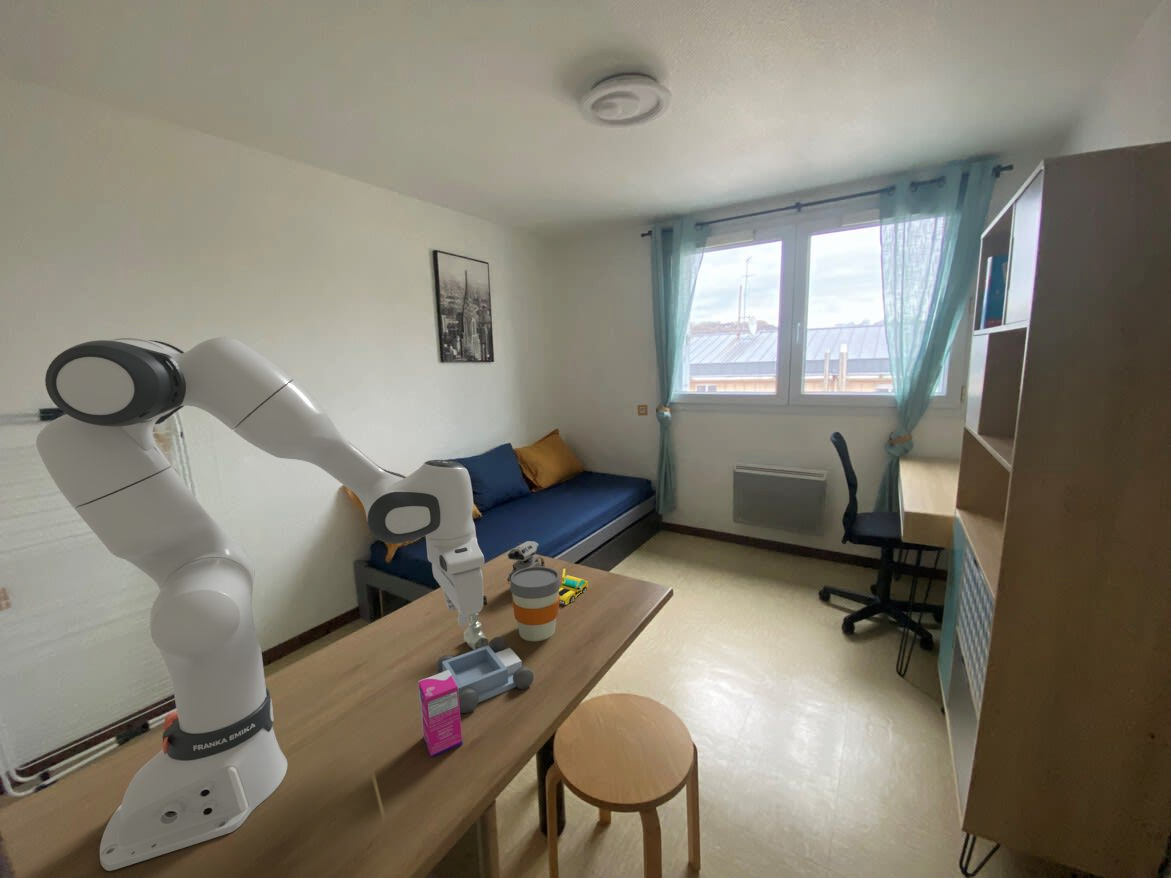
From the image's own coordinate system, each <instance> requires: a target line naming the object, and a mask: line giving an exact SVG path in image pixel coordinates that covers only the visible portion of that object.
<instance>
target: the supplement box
mask: <svg viewBox="0 0 1171 878" xmlns="http://www.w3.org/2000/svg"><path fill="white" fill-rule="evenodd" d="M417 685H418V686H417V687H418V697H419V707H420V709H419V710H420V717H421V726H422V728H421V729H422V737H423V739H424V743H425V744H426V747H427V749H428V752H429V755H430V758H434V757H436V756H438V755H441V754H443V753H445V752H447V751H449V750H452V749H454V748H456V747H458V746H462V745H463V744H464V743H463V732H462V731H463V730H462V719H461V711H460V706H459V694H458V686H457V684H456V682H455V680H454V678H453V677H452V675H451V673H450V671H449V670H446V671H444V672H441V673H437V674H434V675H432V676H429V677H426V678H422V679H420V680H418V681H417Z"/></svg>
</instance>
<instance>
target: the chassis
mask: <svg viewBox="0 0 1171 878" xmlns="http://www.w3.org/2000/svg"><path fill="white" fill-rule="evenodd" d="M507 647H508V645H507V642H506V641H505V640H504V638H502V637H501V636H496V637H493V638H492V639H491V640H490V641H489V642H488V646H485V647H482V648H479V649H476V650H471V651H468V652H466V653H462V654H460V655H457V656H454V657H453V656H452V655H451V654H444V655H442V656H440V657H439V659H437V661H436V663H435V668H436V671H437V672H438V673H437V674H439V673H441V672H444V671H446V670H449V671H450V673H451V675H452V677H453V678H454V680H455V682H456V684H457V686H458V694H459V706H460V713H462V714H469V713H471V712H473V711H474V710H475V709H476V708H477V707H478V705H479V703H481V702H484V701H485V700H486V701H487V700H488V699H491V698H493V697H495V696H498V695H500V694H502V693H505V692H507V691H510V690H512V689H514V688H516V687H517V688H518V689H519V690H525V689H527V688H529V687H530V686H531V685H532V684H533V681H534V672H532V670H531V669H530V667H528V666H525V665H523V663H522V659H520V657H519V656H518V655H517V654H516V653H515V651H514V650H513V649H512V648H510V647H508V648H507Z"/></svg>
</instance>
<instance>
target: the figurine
mask: <svg viewBox="0 0 1171 878" xmlns="http://www.w3.org/2000/svg"><path fill="white" fill-rule="evenodd" d="M539 546H540V545H539V543H538V542H537V541H534V540H527V541H525V542H522V543H520V542H518V543H517V546H516V547H514V548H512V549H511V550H510V551H509V552H508V553H507V555H506V556H507V559H508V560H511V561H515V562H514V563H513V564H512V571H511V572H509V573H508V577H507V579H506V580H507V583H510V582H511V576H512V575H513V574H514V573H515V572H517V571H518V570H521V569H524V568H528V567H546V564H545V560H544V558H542V557H541V556H539V557H535V555H536V553H537V549H538V548H539Z"/></svg>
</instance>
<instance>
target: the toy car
mask: <svg viewBox="0 0 1171 878" xmlns="http://www.w3.org/2000/svg"><path fill="white" fill-rule="evenodd" d="M560 584H561V587H560V589H559V595H560V601H559V604H562V605H564V606H565V605H568V604H570V603H569V602H572V601H573V600H574V599H575V600H576V598H578V597H579V596H580V595H581V594H580V593H582V592H583V591H585V590H586V589H587V590H588V588H589V581H587V580H586V579H583V578H578V577H575V576H571V575H567V574H566V568H563V570H562V577H561V581H560ZM587 590H586V591H587ZM579 594H580V595H579ZM582 594H583V593H582ZM578 595H579V596H578ZM577 596H578V597H577ZM575 600H574V601H575ZM574 601H573V602H574ZM573 602H572V603H573Z"/></svg>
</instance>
